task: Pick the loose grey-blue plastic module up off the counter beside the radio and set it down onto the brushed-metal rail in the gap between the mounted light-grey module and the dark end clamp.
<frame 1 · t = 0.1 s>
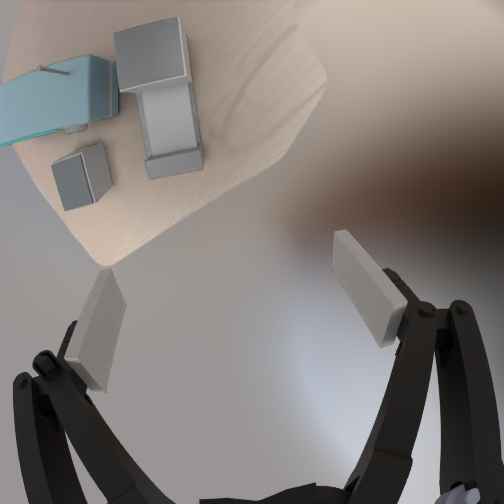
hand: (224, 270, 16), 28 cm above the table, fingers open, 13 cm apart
module: (93, 167, 37), on the table
radio: (73, 101, 31), on the table
rail panel: (166, 103, 34), on the table
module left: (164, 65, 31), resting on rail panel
end clamp: (178, 155, 38), resting on rail panel
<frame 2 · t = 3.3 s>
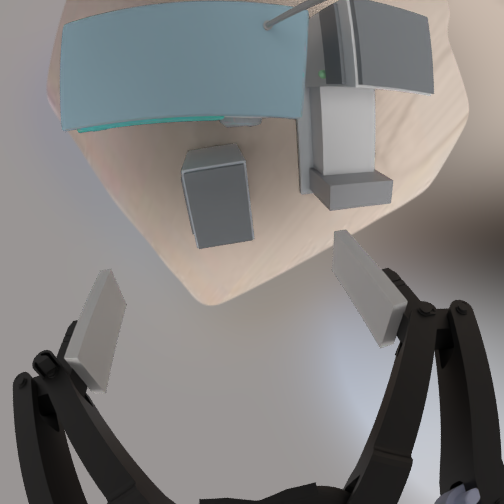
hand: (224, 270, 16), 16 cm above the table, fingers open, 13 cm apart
module: (216, 178, 29), on the table
radio: (189, 76, 24), on the table
rail panel: (330, 106, 27), on the table
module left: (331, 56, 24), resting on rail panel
end clamp: (336, 174, 31), resting on rail panel
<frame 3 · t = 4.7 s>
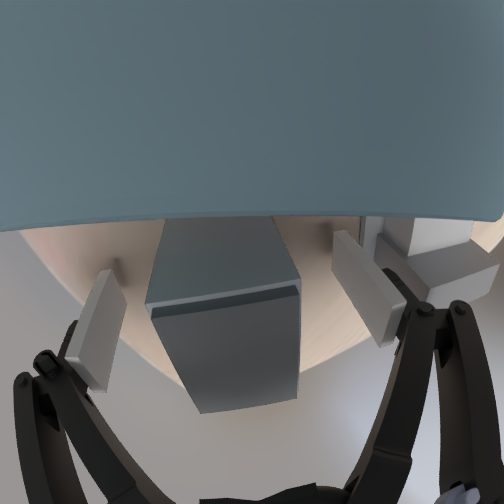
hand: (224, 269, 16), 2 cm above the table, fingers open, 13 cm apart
module: (223, 253, 17), on the table
radio: (168, 64, 11), on the table
rail panel: (415, 130, 15), on the table
end clamp: (409, 238, 19), resting on rail panel
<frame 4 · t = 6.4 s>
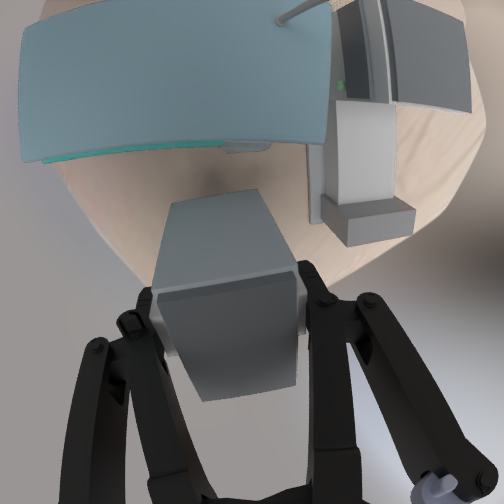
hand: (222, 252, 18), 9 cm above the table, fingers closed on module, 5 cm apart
module: (222, 247, 18), point 9 cm above the table, touching gripper
radio: (181, 88, 20), on the table
rail panel: (344, 122, 24), on the table
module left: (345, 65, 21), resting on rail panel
end clamp: (349, 200, 28), resting on rail panel
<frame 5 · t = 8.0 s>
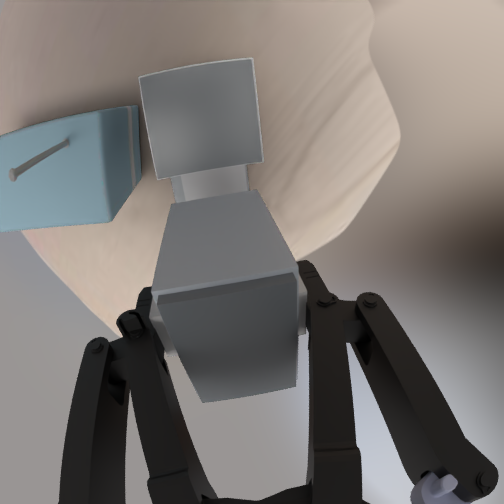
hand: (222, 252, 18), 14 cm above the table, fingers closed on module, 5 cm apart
module: (223, 248, 18), point 14 cm above the table, touching gripper
radio: (76, 153, 25), on the table
rail panel: (207, 164, 28), on the table
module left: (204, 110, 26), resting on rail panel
when the fingers open (4 cm above the table, at t = 10.1 s): module stays where it is, resting on rail panel.
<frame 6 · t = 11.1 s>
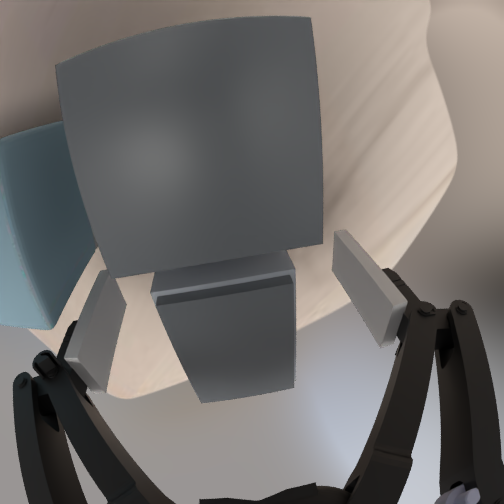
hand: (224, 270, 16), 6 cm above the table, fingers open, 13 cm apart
module: (223, 250, 18), point 4 cm above the table, touching rail panel
radio: (29, 184, 17), on the table
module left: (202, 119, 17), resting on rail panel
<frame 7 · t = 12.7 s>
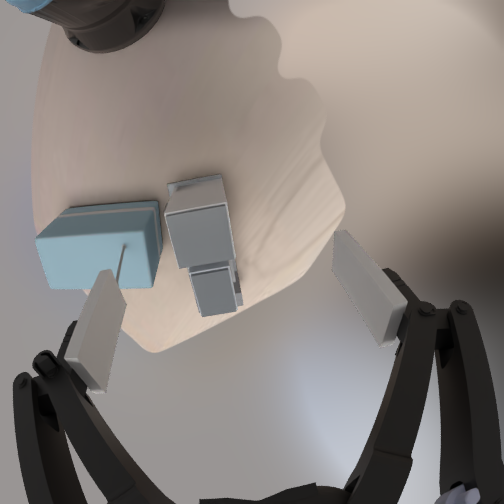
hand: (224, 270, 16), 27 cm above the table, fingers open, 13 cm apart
module: (212, 260, 43), point 4 cm above the table, touching rail panel
radio: (115, 227, 42), on the table
rail panel: (205, 237, 45), on the table
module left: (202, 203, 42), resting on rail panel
end clamp: (217, 278, 49), resting on rail panel
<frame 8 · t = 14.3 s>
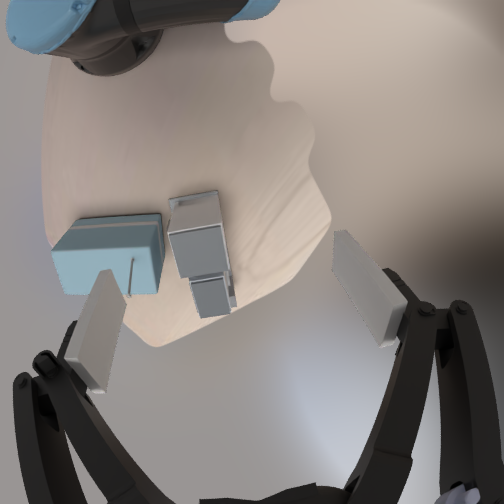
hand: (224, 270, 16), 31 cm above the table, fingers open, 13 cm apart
module: (209, 267, 48), point 4 cm above the table, touching rail panel
radio: (121, 236, 47), on the table
rail panel: (203, 246, 50), on the table
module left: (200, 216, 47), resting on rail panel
end clamp: (214, 281, 54), resting on rail panel
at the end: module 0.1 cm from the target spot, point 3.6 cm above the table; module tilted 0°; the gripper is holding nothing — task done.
